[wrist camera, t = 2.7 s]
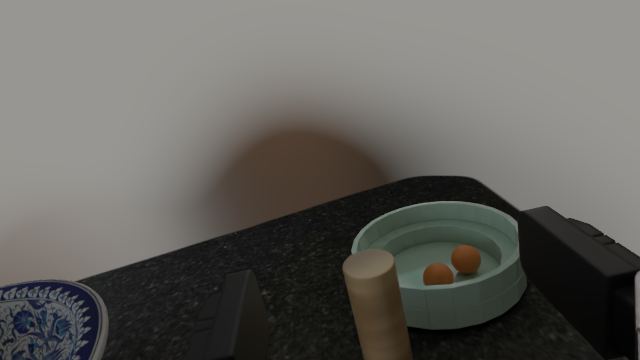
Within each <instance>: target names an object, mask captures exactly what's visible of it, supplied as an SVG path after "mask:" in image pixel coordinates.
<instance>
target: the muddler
mask: <svg viewBox="0 0 640 360" xmlns="http://www.w3.org/2000/svg"><path fill="white" fill-rule="evenodd" d="M342 269H343V274H344V278H345V282H346V286H347V290H348V295H349V299H350V303H351V307H352V311H353V316H354V320H355V324H356V328H357V332H358V337H359V341H360V345H361V349H362V353H363V358H364V360H413V356H412V351H411V345H410V340H409V335H408V329H407V324H406V318H405V313H404V308H403V302H402V297H401V292H400V286H399V281H398V275H397V270H396V265H395V259H394V257H393V256H392V254H390V253H389V252H387V251H385V250H381V249H367V250H363V251H359V252H357V253H354V254H352V255H351V256H349V257H348V258H347V259H346V260H345V262H344V263H343V267H342Z"/></svg>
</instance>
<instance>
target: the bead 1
mask: <svg viewBox="0 0 640 360" xmlns="http://www.w3.org/2000/svg"><path fill="white" fill-rule="evenodd" d="M423 282H424V284H425V286H429V285H445V284H453V283H454V276H453V273H452V271H451V269H450V268H449V267H448V266H446V265H445V264H442V263H433V264H430V265H429V266H427V267H426V269H425V270H424V273H423Z"/></svg>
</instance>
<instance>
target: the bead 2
mask: <svg viewBox="0 0 640 360" xmlns="http://www.w3.org/2000/svg"><path fill="white" fill-rule="evenodd" d="M451 263H452V265H453V267H454V268H455V269H456V270H457V271H458V272H460V273H463V274H470V273H473V272H475V271H476V270H477V269H478V268H479V267H480V264H481V256H480V253H479V252H478V250H477V249H475V248H474V247H472V246H470V245H460V246H458V247H456V248H455V249H454V250H453V252H452V254H451Z"/></svg>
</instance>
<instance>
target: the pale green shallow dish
mask: <svg viewBox="0 0 640 360" xmlns="http://www.w3.org/2000/svg"><path fill="white" fill-rule="evenodd" d="M460 245H470V246H472V247H474V248H475V249H477V250H478V252H479V253H480V256H481V264H480V267H479V268H478V269H477V270H476V271H475V272H473V273H470V274H463V273H460V272H458V271H457V270H456V269H455V268H454V267H453V265H452V263H451V254H452V252H453V250H454V249H455V248H456V247H458V246H460ZM367 249H381V250H385V251H387V252H389V253H390V254H392V256H393V257H394V259H395V265H396V270H397V275H398V281H399V286H400V292H401V297H402V302H403V308H404V313H405V318H406V324H407V326H410V327H416V328H423V329H431V330H438V329H459V328H463V327H468V326H472V325H477V324H481V323H484V322H486V321H489V320H491V319H493V318H495V317H498V316H500V315H502V314H503V313H505V312H506V311H507V310H509V309H510V308H511V307H512V306H513V305H515V304H516V303H517V302H518V301H519V300H520V298H521V296H522V294H523V293H524V291H525V289H526V288H527V276H526V275H525V273H524V271H523V269H522V266H521V263H520V257H519V240H518V223H517V221H515V220H514V219H513V218H512V217H511V216H510V215H508V214H506V213H503V212H501V211H499V210H497V209H495V208H492V207H488V206H484V205H481V204H476V203H468V202H460V201H459V202H458V201H440V202H439V201H438V202H429V203H421V204H416V205H412V206H407V207H403V208H400V209H397V210H395V211H392V212H389V213H387V214H384V215H382V216H381V217H379V218H377V219H375V220H373V221H372V222H370V223H369V224H368V225H367V226H365V227H364V228H363V229H362V230H361V231H360V232H359V234H358V235H357V237H356V238H355V239H354V242H353V246H352V250H351V252H352V254H354V253H357V252H359V251H363V250H367ZM433 263H442V264H445V265H446V266H448V267H449V268H450V269H451V271H452V273H453V276H454V283H453V284H445V285H429V286H425V284H424V282H423V273H424V270H425V269H426V267H427V266H429V265H430V264H433Z"/></svg>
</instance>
